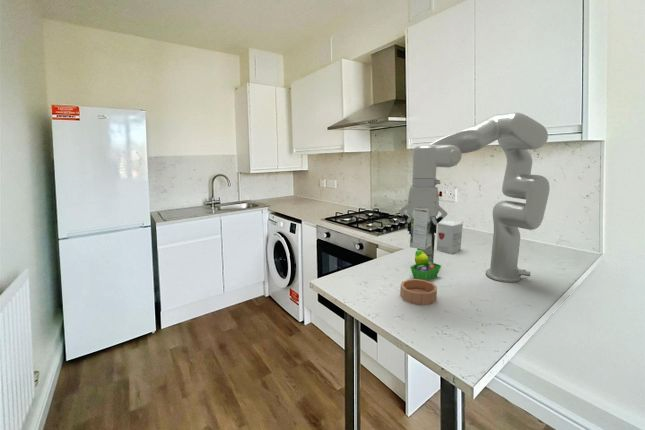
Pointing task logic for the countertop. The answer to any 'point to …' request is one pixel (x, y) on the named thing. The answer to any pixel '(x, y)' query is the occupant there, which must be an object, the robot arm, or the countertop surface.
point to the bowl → (418, 291)
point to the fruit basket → (424, 267)
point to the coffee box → (430, 250)
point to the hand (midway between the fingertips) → (421, 233)
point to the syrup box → (421, 229)
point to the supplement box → (449, 236)
